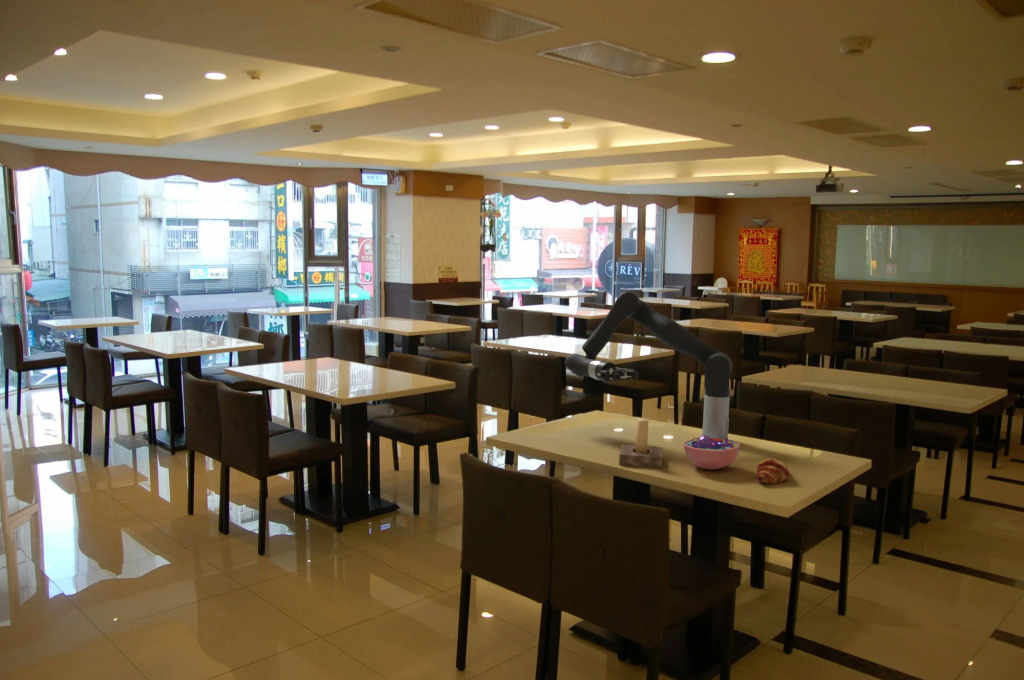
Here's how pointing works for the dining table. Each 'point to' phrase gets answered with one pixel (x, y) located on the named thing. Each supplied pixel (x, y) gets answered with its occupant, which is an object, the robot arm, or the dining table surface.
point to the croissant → (771, 471)
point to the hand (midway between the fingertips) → (629, 376)
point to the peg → (641, 436)
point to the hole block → (640, 456)
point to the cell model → (711, 452)
